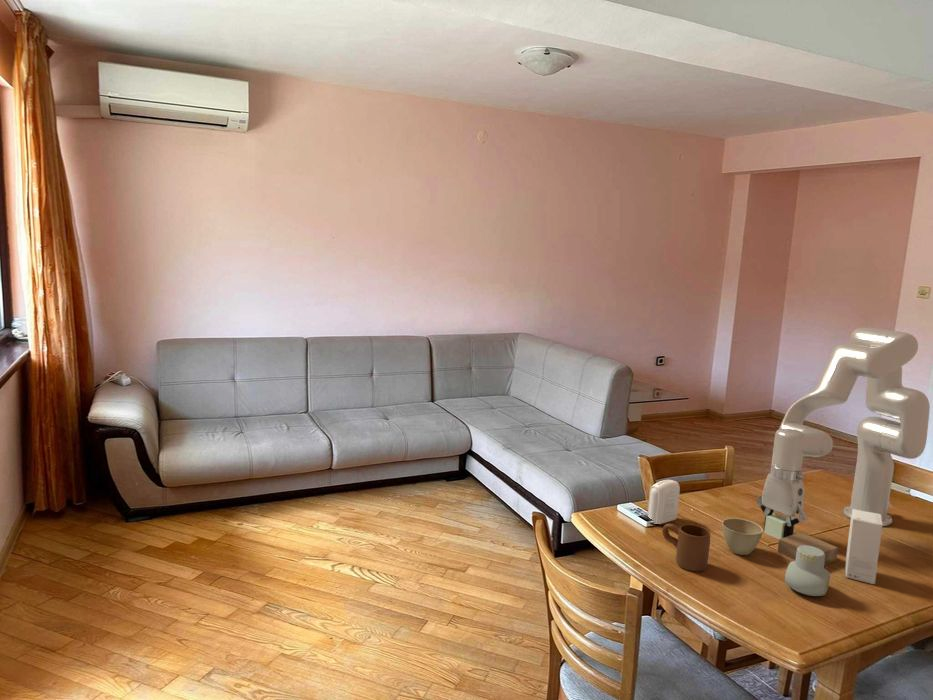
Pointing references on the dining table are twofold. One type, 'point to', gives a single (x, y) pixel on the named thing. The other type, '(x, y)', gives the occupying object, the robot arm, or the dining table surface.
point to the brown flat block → (792, 542)
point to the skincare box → (863, 546)
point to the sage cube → (775, 525)
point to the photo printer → (663, 501)
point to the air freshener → (808, 572)
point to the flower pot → (741, 535)
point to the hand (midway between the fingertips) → (777, 533)
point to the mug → (690, 545)
